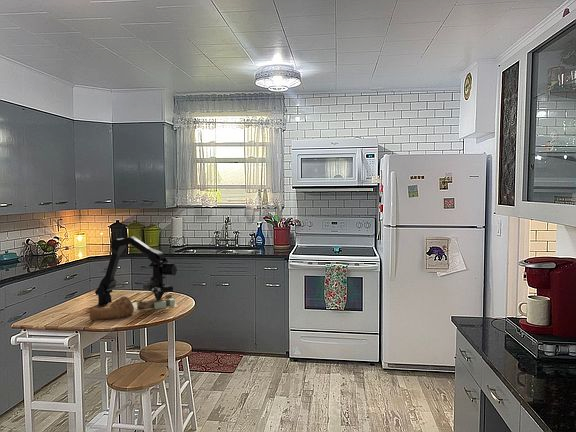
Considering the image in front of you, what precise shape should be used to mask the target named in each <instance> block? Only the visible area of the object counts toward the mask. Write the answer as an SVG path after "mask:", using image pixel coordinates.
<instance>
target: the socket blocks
mask: <svg viewBox="0 0 576 432" xmlns="http://www.w3.org/2000/svg"><path fill="white" fill-rule="evenodd" d="M168 300H169V305H170V306H175V303H176V300H175V298H173V297H172V298H170V299H168ZM154 308H155V309H154V310H158V308H159V309H166V301H160V302H154Z"/></svg>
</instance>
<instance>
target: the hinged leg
mask: <svg viewBox="0 0 576 432" xmlns="http://www.w3.org/2000/svg"><path fill="white" fill-rule="evenodd" d="M160 301H166V305H169V300H168V299H166V298H163V299H162V298H161V300H156V299H155V300H154V299H153V300H145V301H143V300H140V301H136V302H137V308H138V309H143V308H150V307H154V302H160Z"/></svg>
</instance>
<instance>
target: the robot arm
mask: <svg viewBox="0 0 576 432" xmlns="http://www.w3.org/2000/svg"><path fill="white" fill-rule="evenodd" d="M129 245H131V246H132V247H134V248H135V249H137V250H138V251H139V252H140V253H142V254H145V256H146V257H147V259H148V260H149V261H150V262H151V263H150V264H149V265H148V267H149V268H152V276H151V277H150V280H147V281H146V282H145V283H143V285H142V288H143V289H144V290H145V291H150V292H151V293H152V294H153V295H154V297H155V300H161V299H162V297H163V295H164V294H165V293H170V292H174V286H173V285H169V284H166V283H164V279H166V276H170V277H171V276H173V277H174V276H176V274H177V271H178V268H177V266H176V265H175V262H171V263H170V262H169V261H168V259H167V258H166V257H165V253H164V252H163V251H160V250H158V249H155V248H152V247H150V246H149V245H147V244H146V243H144V242H143V241H142V240H140V239H139V238H137V237H136V236H135V235H133V236H128V237H125V238H124V237H120V238H115V239H113V240H111V243H110V250H111V255H110V257H109V262H108V265H107V269H106V272H105V275H104V277H103V278H102V279H101V280H100V282H99V285H98V287H97V288H96V290H95V291H94V294H95V295H96V296H98V303H97V304H98V306H101V307H102V306H107V305H108V304H109V303H112V295H111V293H113V290H114V289H115V288H116V285H117V282H118V281H117V280H116V279H115V277H116V276H115V275H116V273H117V272H116V271H117V269H118V266H119V265H118V264H119V261H120V258H121V255H122V253H124V251H125V250H126V248H127V246H129Z"/></svg>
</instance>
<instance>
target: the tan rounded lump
mask: <svg viewBox="0 0 576 432" xmlns="http://www.w3.org/2000/svg"><path fill="white" fill-rule="evenodd" d="M132 303H133V302H132V301H131V300H130V298H129V297H127V296H121V297H119V299H115V301H114V302H111V304H109V305H110V306H108V307H102V308H98V307H92V308H91V309H90V311H89V320H90V321H91V322H95V321H97V320H101V321H102V320H103V321H104V320H113V319H114V320H115V319H120V318H124V317H127V316H132V315H133V313H134V312H135V311H134V307H133V304H132Z"/></svg>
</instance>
